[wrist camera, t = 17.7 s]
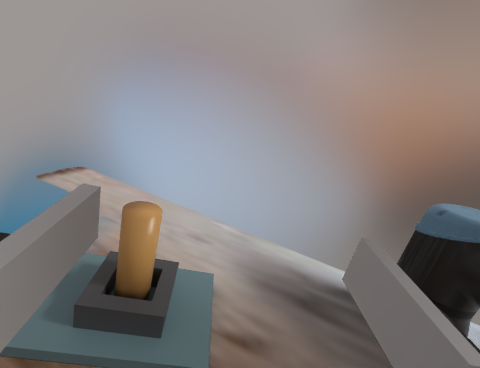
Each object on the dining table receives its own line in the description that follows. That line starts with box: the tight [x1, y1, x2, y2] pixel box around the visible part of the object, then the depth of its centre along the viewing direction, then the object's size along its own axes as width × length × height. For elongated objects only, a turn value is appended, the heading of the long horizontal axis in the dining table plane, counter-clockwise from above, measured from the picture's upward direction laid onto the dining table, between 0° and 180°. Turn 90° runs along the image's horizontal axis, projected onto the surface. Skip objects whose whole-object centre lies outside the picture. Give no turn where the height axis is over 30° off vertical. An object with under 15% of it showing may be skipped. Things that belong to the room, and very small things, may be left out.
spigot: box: [114, 201, 162, 301], centre depth 33 cm, size 4×4×14 cm
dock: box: [0, 251, 214, 368], centre depth 35 cm, size 22×16×5 cm
